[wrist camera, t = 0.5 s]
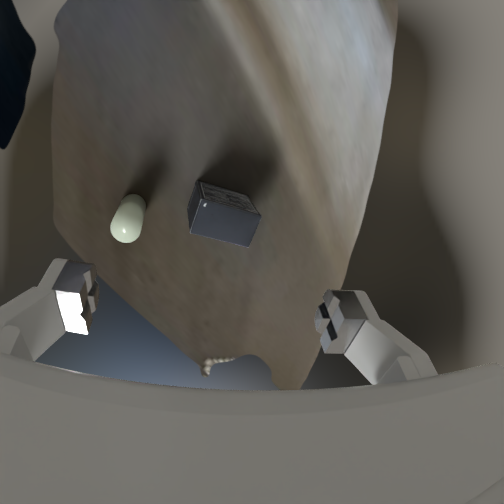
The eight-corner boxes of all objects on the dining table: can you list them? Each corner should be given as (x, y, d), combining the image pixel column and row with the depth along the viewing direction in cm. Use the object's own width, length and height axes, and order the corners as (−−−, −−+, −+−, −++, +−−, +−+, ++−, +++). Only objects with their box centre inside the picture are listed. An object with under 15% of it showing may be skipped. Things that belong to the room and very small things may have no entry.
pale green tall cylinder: (119, 195, 53) (108, 214, 44) (145, 193, 54) (139, 212, 46) (121, 220, 55) (112, 243, 47) (147, 218, 56) (142, 241, 48)
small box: (185, 211, 58) (187, 234, 49) (196, 179, 55) (200, 196, 46) (237, 225, 61) (248, 249, 53) (249, 195, 59) (263, 215, 50)
